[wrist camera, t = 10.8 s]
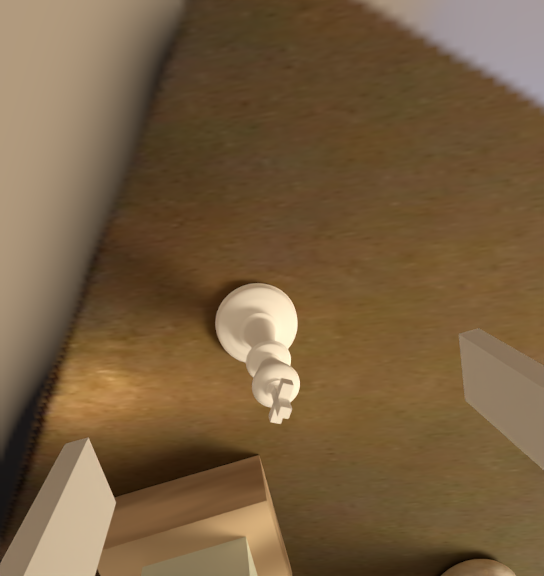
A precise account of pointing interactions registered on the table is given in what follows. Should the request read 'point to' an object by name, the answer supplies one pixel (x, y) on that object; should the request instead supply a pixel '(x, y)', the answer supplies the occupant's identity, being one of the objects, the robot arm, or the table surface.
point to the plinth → (196, 520)
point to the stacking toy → (479, 568)
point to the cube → (208, 562)
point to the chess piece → (262, 342)
